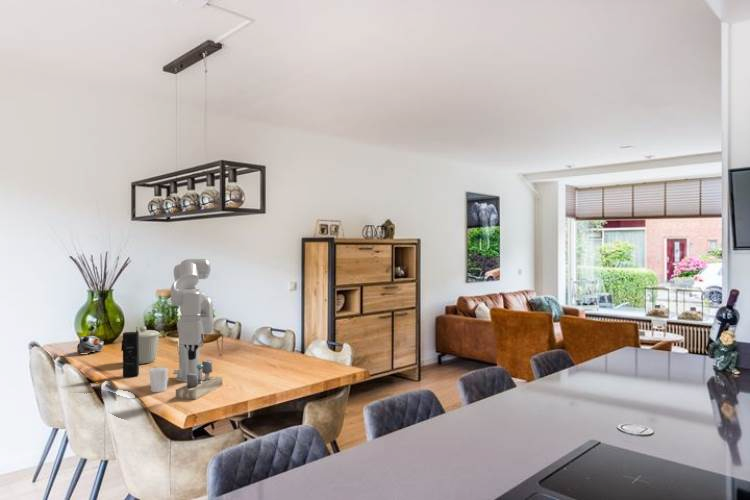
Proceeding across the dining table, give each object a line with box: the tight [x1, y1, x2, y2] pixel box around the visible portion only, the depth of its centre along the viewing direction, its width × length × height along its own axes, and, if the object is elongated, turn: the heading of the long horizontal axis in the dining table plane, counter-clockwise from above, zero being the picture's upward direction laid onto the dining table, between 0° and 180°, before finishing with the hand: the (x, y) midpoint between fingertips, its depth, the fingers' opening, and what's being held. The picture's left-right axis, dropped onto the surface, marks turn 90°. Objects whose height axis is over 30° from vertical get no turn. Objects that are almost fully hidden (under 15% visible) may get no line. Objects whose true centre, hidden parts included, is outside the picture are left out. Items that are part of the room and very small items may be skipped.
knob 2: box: [201, 359, 213, 380], centre depth 229 cm, size 4×4×10 cm
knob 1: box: [186, 373, 198, 388], centre depth 218 cm, size 4×4×10 cm
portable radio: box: [120, 327, 140, 378], centre depth 252 cm, size 8×6×25 cm
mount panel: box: [175, 375, 223, 400], centre depth 223 cm, size 10×22×4 cm, turn 168°
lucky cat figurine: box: [76, 335, 105, 354], centre depth 309 cm, size 15×12×14 cm
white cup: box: [149, 366, 169, 393], centre depth 226 cm, size 8×8×10 cm
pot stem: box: [197, 363, 203, 384], centre depth 223 cm, size 3×3×8 cm
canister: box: [133, 325, 161, 365], centre depth 283 cm, size 18×18×21 cm
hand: (192, 359), depth 218 cm, fingers closed
